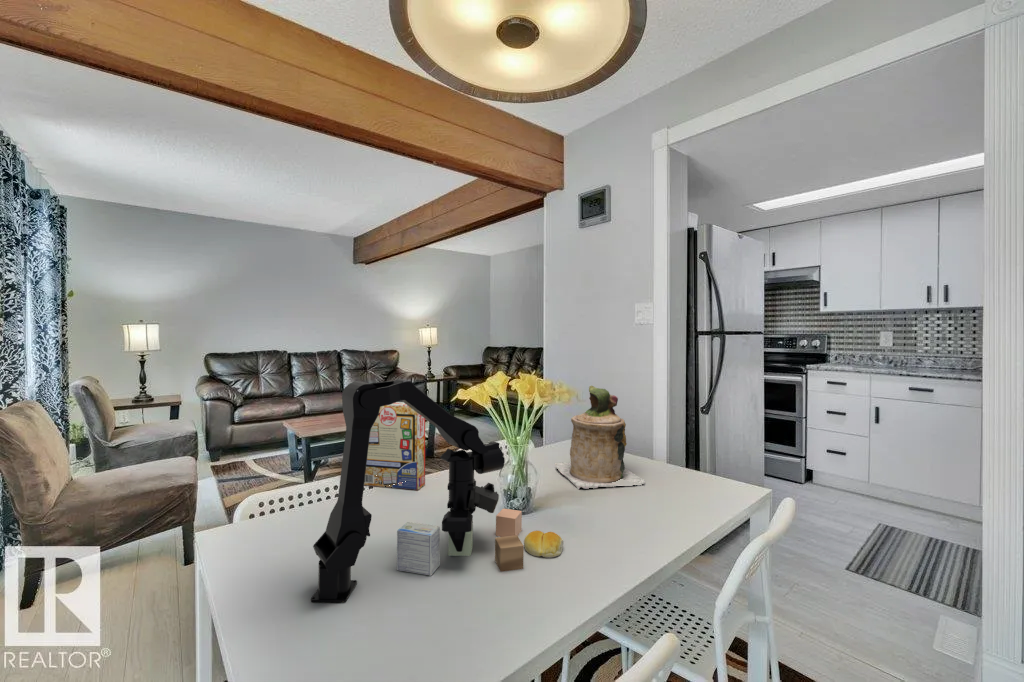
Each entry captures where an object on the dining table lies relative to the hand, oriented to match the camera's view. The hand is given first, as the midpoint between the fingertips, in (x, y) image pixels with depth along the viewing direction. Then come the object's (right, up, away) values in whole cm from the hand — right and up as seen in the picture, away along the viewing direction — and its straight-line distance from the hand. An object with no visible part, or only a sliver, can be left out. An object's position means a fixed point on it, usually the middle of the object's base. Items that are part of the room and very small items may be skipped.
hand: (460, 545), depth 100 cm
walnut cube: (+11, -1, -6) cm, 13 cm away
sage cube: (0, -1, 0) cm, 1 cm away
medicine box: (-8, -1, -8) cm, 11 cm away
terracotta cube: (+11, -1, +9) cm, 14 cm away
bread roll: (+19, -2, +1) cm, 19 cm away
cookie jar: (+42, -1, +54) cm, 68 cm away
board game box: (-27, -1, +43) cm, 51 cm away
